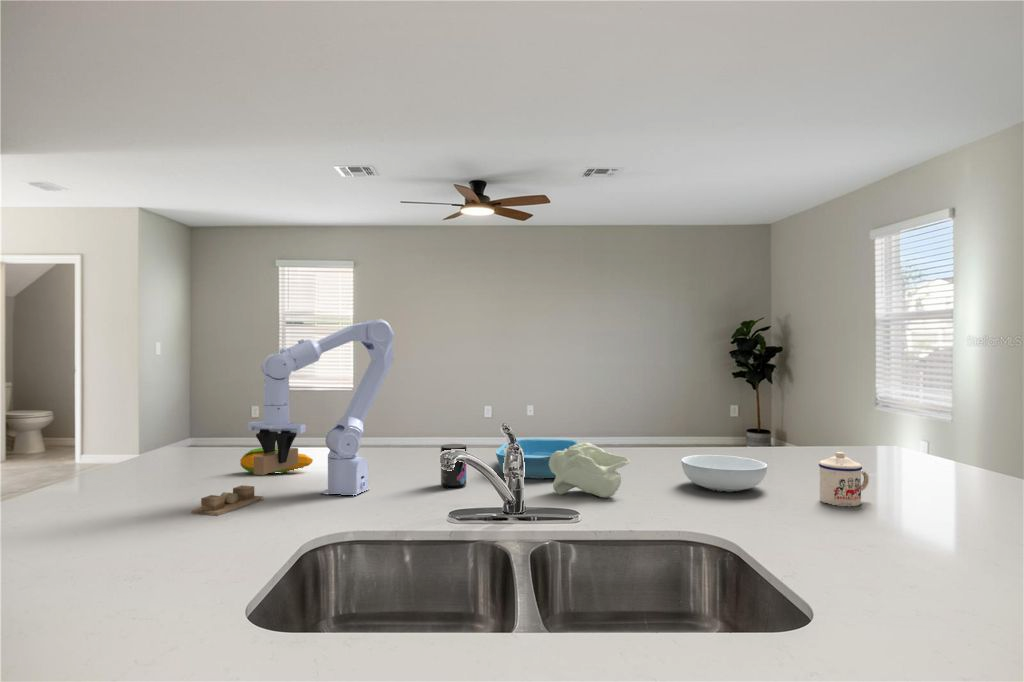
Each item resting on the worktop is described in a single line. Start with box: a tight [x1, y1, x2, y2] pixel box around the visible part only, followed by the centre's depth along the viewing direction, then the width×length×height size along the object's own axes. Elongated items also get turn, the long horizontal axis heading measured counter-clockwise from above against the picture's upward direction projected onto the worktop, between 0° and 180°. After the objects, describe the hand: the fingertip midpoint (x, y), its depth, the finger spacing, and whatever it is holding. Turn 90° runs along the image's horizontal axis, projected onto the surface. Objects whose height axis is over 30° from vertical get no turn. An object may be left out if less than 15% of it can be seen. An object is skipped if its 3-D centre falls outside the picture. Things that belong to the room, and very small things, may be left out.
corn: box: [239, 446, 314, 474], centre depth 185 cm, size 7×8×20 cm
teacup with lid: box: [818, 451, 870, 508], centre depth 152 cm, size 12×9×12 cm
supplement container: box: [440, 443, 468, 490], centre depth 168 cm, size 7×7×10 cm
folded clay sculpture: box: [549, 441, 631, 499], centre depth 160 cm, size 18×13×16 cm
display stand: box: [191, 485, 264, 516], centre depth 148 cm, size 7×15×3 cm, turn 163°
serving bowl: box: [680, 454, 768, 493], centre depth 166 cm, size 21×21×7 cm
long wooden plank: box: [253, 447, 299, 476], centre depth 153 cm, size 3×13×4 cm, turn 163°
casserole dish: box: [495, 437, 579, 479], centre depth 190 cm, size 37×22×7 cm, turn 170°
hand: (276, 462), depth 153 cm, fingers closed on long wooden plank, 3 cm apart
